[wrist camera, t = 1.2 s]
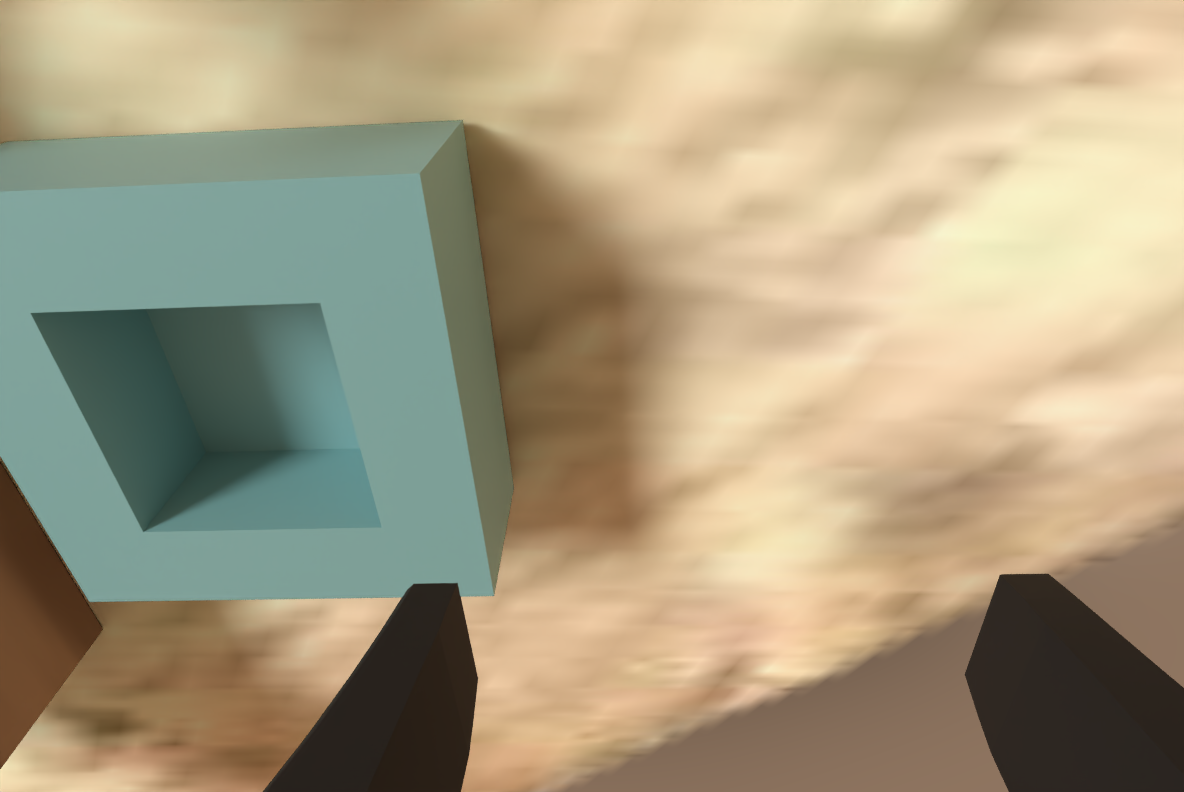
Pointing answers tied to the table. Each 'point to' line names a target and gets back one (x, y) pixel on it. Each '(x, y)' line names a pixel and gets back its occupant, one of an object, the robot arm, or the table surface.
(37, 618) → the backstop wall
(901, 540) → the table surface
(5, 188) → the sliding block
